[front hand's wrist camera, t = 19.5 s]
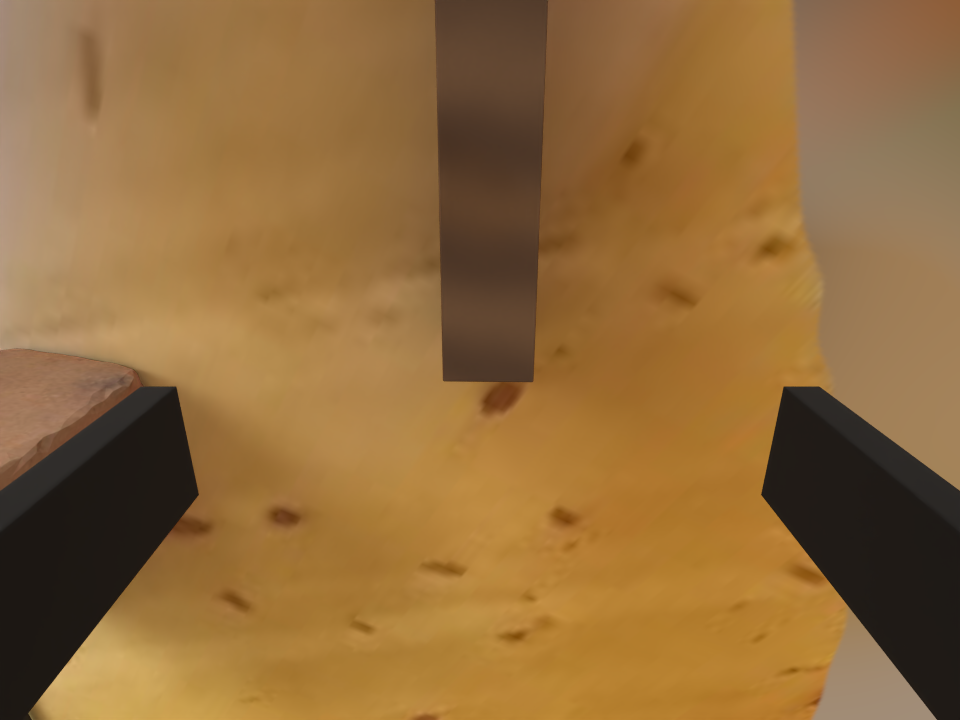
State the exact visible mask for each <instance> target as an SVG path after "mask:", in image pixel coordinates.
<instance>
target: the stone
mask: <svg viewBox="0 0 960 720" xmlns="http://www.w3.org/2000/svg"><path fill="white" fill-rule="evenodd" d="M140 387H144V386H143V385H142V384H141V382H140V379H139V377H138V374H137V373H136V372H135V371H134V370H133V369H130V368H127V367H125V366H122V365H118V364H115V363H109V362H101V361H95V360H89V359H85V358H81V357H76V356H68V355H63V354H54V353H46V352H38V351H34V350H27V349H9V350H0V491H1V490H2V489H3V488H5V487H6V486H7V485H9V484H10V483H12V482H13V481H14V480H16V479H17V478H18V477H20V476H21V475H22V474H24V473H25V472H26V471H28V470H29V469H30V468H32V467H33V466H34V465H36V464H37V463H38V462H40V461H41V460H43V459H44V458H45V457H47V456H48V455H49V454H51V453H52V452H53V451H55V450H56V449H57V448H59V447H60V446H61V445H63V444H64V443H65V442H67V441H68V440H70V439H71V438H72V437H74V436H75V435H76V434H78V433H79V432H80V431H82V430H83V429H84V428H86V427H87V426H88V425H90V424H91V423H92V422H94V421H95V420H96V419H98V418H99V417H101V416H102V415H103V414H105V413H106V412H107V411H109V410H110V409H111V408H113V407H114V406H115V405H117V404H118V403H119V402H121V401H122V400H123V399H125V398H126V397H127V396H129V395H130V394H132V393H133V392H134V391H136V390H137V389H138V388H140Z"/></svg>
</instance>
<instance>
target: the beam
mask: <svg viewBox="0 0 960 720" xmlns="http://www.w3.org/2000/svg"><path fill="white" fill-rule="evenodd" d="M547 12H548V0H435V23H436V71H437V118H438V166H439V214H440V261H441V309H442V356H443V381H467V382H533V377H534V351H535V325H536V299H537V273H538V246H539V220H540V194H541V168H542V142H543V116H544V90H545V64H546V38H547Z"/></svg>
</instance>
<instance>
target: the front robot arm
mask: <svg viewBox="0 0 960 720" xmlns="http://www.w3.org/2000/svg"><path fill="white" fill-rule="evenodd" d="M198 495H199V494H198V489H197V484H196V479H195V475H194V470H193V465H192V460H191V455H190V451H189V446H188V441H187V436H186V431H185V427H184V422H183V417H182V412H181V407H180V403H179V398H178V393H177V388H176V387H140V388H138V389H137V390H136V391H134V392H133V393H132V394H130V395H129V396H127V397H126V398H125V399H123V400H122V401H121V402H119V403H118V404H117V405H115V406H114V407H113V408H111V409H110V410H109V411H107V412H106V413H105V414H103V415H102V416H101V417H99V418H98V419H96V420H95V421H94V422H92V423H91V424H90V425H88V426H87V427H86V428H84V429H83V430H82V431H80V432H79V433H78V434H76V435H75V436H74V437H72V438H71V439H70V440H68V441H67V442H65V443H64V444H63V445H61V446H60V447H59V448H57V449H56V450H55V451H53V452H52V453H51V454H49V455H48V456H47V457H45V458H44V459H43V460H41V461H40V462H38V463H37V464H36V465H34V466H33V467H32V468H30V469H29V470H28V471H26V472H25V473H24V474H22V475H21V476H20V477H18V478H17V479H16V480H14V481H13V482H12V483H10V484H9V485H7V486H6V487H5V488H3V489H2V490H1V491H0V720H32V719H31V718H30V716H29V714H28V713H29V711H30V710H31V709H32V707H33V706H34V705H35V704H36V702H37V701H38V700H39V698H40V697H41V696H42V695H43V693H44V692H45V691H46V690H47V688H48V687H49V686H50V684H51V683H52V682H53V681H54V679H55V678H56V677H57V675H58V674H59V673H60V672H61V670H62V669H63V668H64V666H65V665H66V664H67V663H68V661H69V660H70V659H71V658H72V656H73V655H74V654H75V652H76V651H77V650H78V649H79V647H80V646H81V645H82V643H83V642H84V641H85V640H86V638H87V637H88V636H89V635H90V633H91V632H92V631H93V629H94V628H95V627H96V626H97V624H98V623H99V622H100V620H101V619H102V618H103V617H104V615H105V614H106V613H107V611H108V610H109V609H110V608H111V606H112V605H113V604H114V603H115V601H116V600H117V599H118V597H119V596H120V595H121V594H122V592H123V591H124V590H125V588H126V587H127V586H128V585H129V583H130V582H131V581H132V580H133V578H134V577H135V576H136V574H137V573H138V572H139V571H140V569H141V568H142V567H143V565H144V564H145V563H146V562H147V560H148V559H149V558H150V556H151V555H152V554H153V553H154V551H155V550H156V549H157V548H158V546H159V545H160V544H161V542H162V541H163V540H164V539H165V537H166V536H167V535H168V533H169V532H170V531H171V530H172V528H173V527H174V526H175V525H176V523H177V522H178V521H179V519H180V518H181V517H182V516H183V514H184V513H185V512H186V510H187V509H188V508H189V507H190V505H191V504H192V503H193V501H194V500H195V499H196V498H197V496H198ZM761 495H762V496H763V498H764V499H765V500H766V502H767V503H768V504H769V505H770V507H771V508H772V509H773V510H774V512H775V513H776V514H777V516H778V517H779V518H780V519H781V521H782V522H783V523H784V525H785V526H786V527H787V528H788V530H789V531H790V532H791V533H792V535H793V536H794V537H795V539H796V540H797V541H798V542H799V544H800V545H801V546H802V548H803V549H804V550H805V551H806V553H807V554H808V555H809V556H810V558H811V559H812V560H813V562H814V563H815V564H816V565H817V567H818V568H819V569H820V571H821V572H822V573H823V574H824V576H825V577H826V578H827V580H828V581H829V582H830V583H831V585H832V586H833V587H834V588H835V590H836V591H837V592H838V594H839V595H840V596H841V597H842V599H843V600H844V601H845V603H846V604H847V605H848V606H849V608H850V609H851V610H852V611H853V613H854V614H855V615H856V617H857V618H858V619H859V620H860V622H861V623H862V624H863V626H864V627H865V628H866V629H867V631H868V632H869V633H870V634H871V636H872V637H873V638H874V640H875V641H876V642H877V643H878V645H879V646H880V647H881V649H882V650H883V651H884V652H885V654H886V655H887V656H888V658H889V659H890V660H891V661H892V663H893V664H894V665H895V666H896V668H897V669H898V670H899V672H900V673H901V674H902V675H903V677H904V678H905V679H906V681H907V682H908V683H909V684H910V686H911V687H912V688H913V690H914V691H915V692H916V693H917V695H918V696H919V697H920V698H921V700H922V701H923V702H924V704H925V705H926V706H927V707H928V709H929V710H930V711H931V713H932V714H933V715H934V716H935V718H936V719H937V720H960V491H959V490H958V489H957V488H955V487H954V486H953V485H951V484H950V483H948V482H947V481H946V480H944V479H943V478H942V477H940V476H939V475H938V474H936V473H935V472H934V471H932V470H931V469H930V468H928V467H927V466H926V465H924V464H923V463H922V462H920V461H919V460H917V459H916V458H915V457H913V456H912V455H911V454H909V453H908V452H907V451H905V450H904V449H903V448H901V447H900V446H899V445H897V444H896V443H895V442H893V441H892V440H890V439H889V438H888V437H886V436H885V435H884V434H882V433H881V432H880V431H878V430H877V429H876V428H874V427H873V426H872V425H870V424H869V423H868V422H866V421H865V420H864V419H862V418H861V417H859V416H858V415H857V414H855V413H854V412H853V411H851V410H850V409H849V408H847V407H846V406H845V405H843V404H842V403H841V402H839V401H838V400H837V399H835V398H834V397H833V396H831V395H830V394H828V393H827V392H826V391H824V390H823V389H822V388H820V387H784V388H783V393H782V398H781V403H780V407H779V412H778V417H777V422H776V427H775V431H774V436H773V441H772V446H771V451H770V455H769V460H768V465H767V470H766V475H765V479H764V484H763V489H762V494H761Z"/></svg>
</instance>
